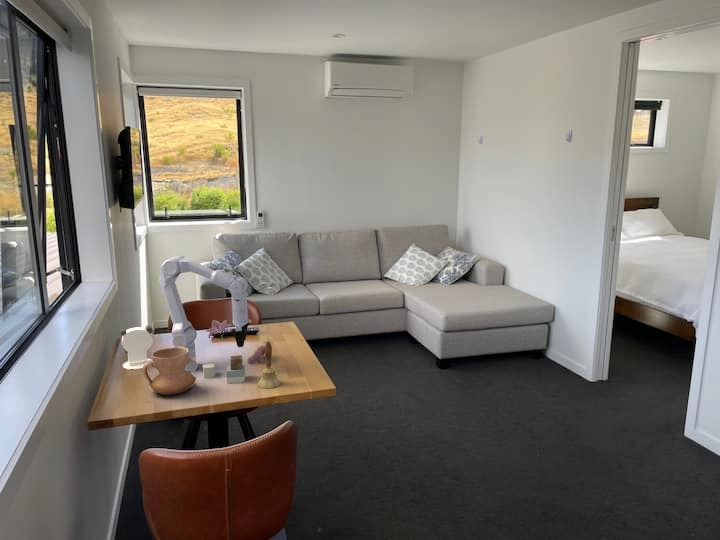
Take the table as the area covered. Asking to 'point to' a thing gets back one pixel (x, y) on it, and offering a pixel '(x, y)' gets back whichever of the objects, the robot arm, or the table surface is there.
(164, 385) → the ceramic jug
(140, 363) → the panda figurine
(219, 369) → the table surface
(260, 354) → the video game controller
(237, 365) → the walnut cube
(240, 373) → the tower top
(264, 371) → the hand bell
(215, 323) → the lily
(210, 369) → the cream cube
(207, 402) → the table surface
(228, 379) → the tower base
